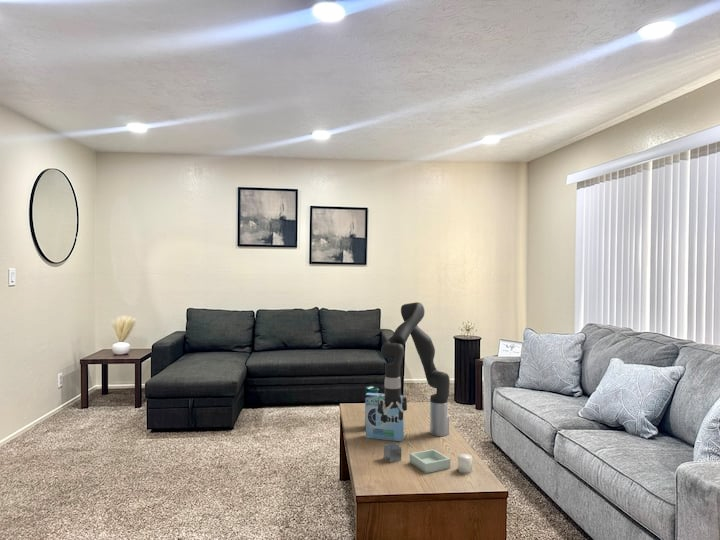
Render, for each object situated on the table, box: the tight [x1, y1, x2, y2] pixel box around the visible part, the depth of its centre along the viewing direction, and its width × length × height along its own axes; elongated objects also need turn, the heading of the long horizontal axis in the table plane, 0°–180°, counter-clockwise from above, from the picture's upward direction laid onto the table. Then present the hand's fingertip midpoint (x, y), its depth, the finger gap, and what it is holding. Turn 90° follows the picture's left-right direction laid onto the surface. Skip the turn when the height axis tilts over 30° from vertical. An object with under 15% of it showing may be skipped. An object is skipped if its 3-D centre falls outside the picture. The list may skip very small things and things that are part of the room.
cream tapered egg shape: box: [457, 453, 473, 474], centre depth 210 cm, size 6×6×6 cm
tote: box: [409, 448, 451, 474], centre depth 215 cm, size 13×13×4 cm
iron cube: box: [383, 443, 402, 464], centre depth 221 cm, size 6×6×6 cm
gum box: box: [365, 392, 405, 442], centre depth 249 cm, size 20×5×23 cm, turn 72°
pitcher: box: [364, 385, 380, 428], centre depth 267 cm, size 10×8×22 cm
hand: (392, 421), depth 222 cm, fingers open, 8 cm apart
